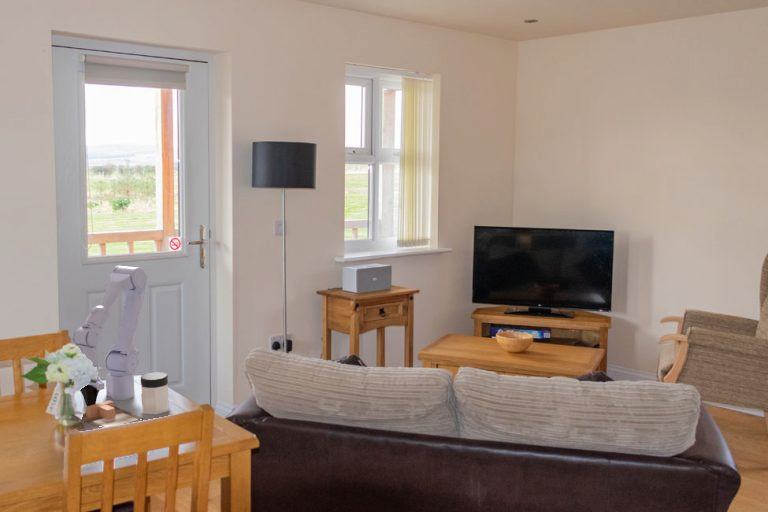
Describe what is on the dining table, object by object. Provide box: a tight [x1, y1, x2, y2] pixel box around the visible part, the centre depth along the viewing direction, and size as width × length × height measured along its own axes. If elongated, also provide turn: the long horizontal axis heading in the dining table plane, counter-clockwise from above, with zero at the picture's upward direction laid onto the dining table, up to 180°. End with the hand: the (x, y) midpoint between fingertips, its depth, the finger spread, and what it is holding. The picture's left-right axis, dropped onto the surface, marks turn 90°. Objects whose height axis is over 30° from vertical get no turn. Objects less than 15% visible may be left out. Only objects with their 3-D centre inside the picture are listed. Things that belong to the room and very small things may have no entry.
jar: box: [140, 371, 170, 415], centre depth 249 cm, size 9×8×12 cm
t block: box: [85, 400, 115, 420], centre depth 244 cm, size 8×8×3 cm
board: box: [81, 405, 145, 429], centre depth 243 cm, size 20×13×1 cm, turn 49°
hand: (91, 407), depth 250 cm, fingers closed
